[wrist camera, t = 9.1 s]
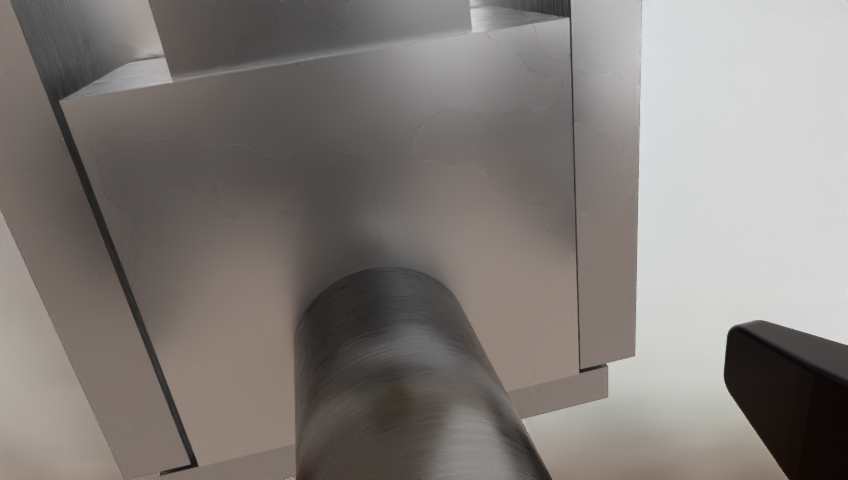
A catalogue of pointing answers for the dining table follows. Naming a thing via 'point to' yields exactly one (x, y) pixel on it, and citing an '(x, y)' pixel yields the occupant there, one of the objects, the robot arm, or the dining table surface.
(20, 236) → the press base
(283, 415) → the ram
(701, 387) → the dining table surface
